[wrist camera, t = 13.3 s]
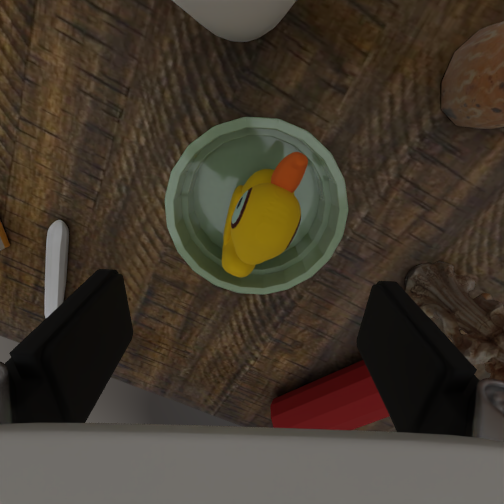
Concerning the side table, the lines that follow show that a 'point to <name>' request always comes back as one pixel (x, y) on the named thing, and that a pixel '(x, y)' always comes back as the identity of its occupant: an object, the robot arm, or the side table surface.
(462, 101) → the vase
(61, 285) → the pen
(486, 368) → the figurine
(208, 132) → the bowl
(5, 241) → the supplement box
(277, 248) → the duckling
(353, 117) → the side table surface
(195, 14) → the cup
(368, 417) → the shotgun shell
